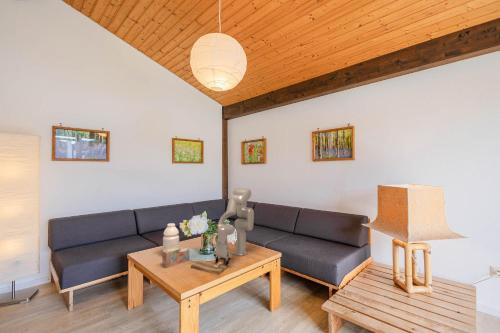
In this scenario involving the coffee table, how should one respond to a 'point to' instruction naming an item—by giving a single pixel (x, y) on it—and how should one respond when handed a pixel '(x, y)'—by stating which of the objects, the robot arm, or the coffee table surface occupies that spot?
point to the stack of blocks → (174, 256)
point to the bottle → (170, 237)
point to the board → (208, 267)
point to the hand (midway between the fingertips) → (222, 263)
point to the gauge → (221, 262)
